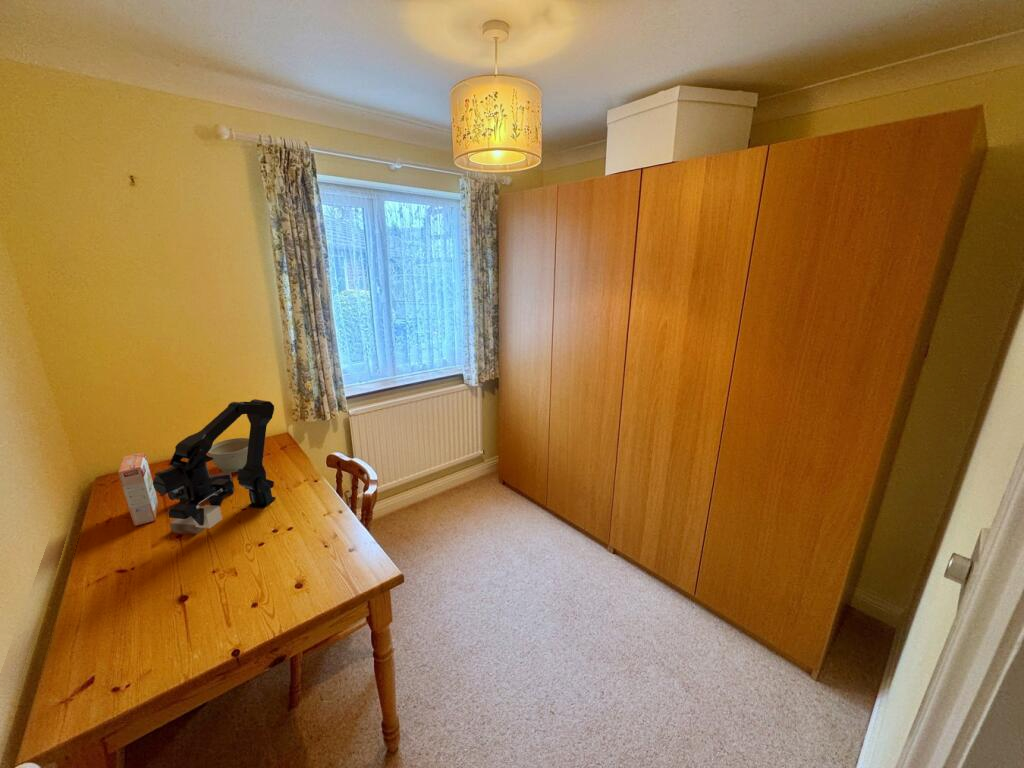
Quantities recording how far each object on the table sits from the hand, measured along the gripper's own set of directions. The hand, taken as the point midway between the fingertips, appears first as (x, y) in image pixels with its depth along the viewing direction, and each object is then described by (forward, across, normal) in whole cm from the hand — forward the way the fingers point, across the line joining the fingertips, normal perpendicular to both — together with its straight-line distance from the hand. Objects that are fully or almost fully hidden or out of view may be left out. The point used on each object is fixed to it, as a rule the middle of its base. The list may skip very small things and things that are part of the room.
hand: (208, 520), depth 130 cm
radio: (+5, -19, -18) cm, 27 cm away
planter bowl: (+5, -40, -26) cm, 48 cm away
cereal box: (+5, -6, -31) cm, 32 cm away
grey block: (+5, -3, -9) cm, 11 cm away
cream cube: (+1, 0, 0) cm, 1 cm away
